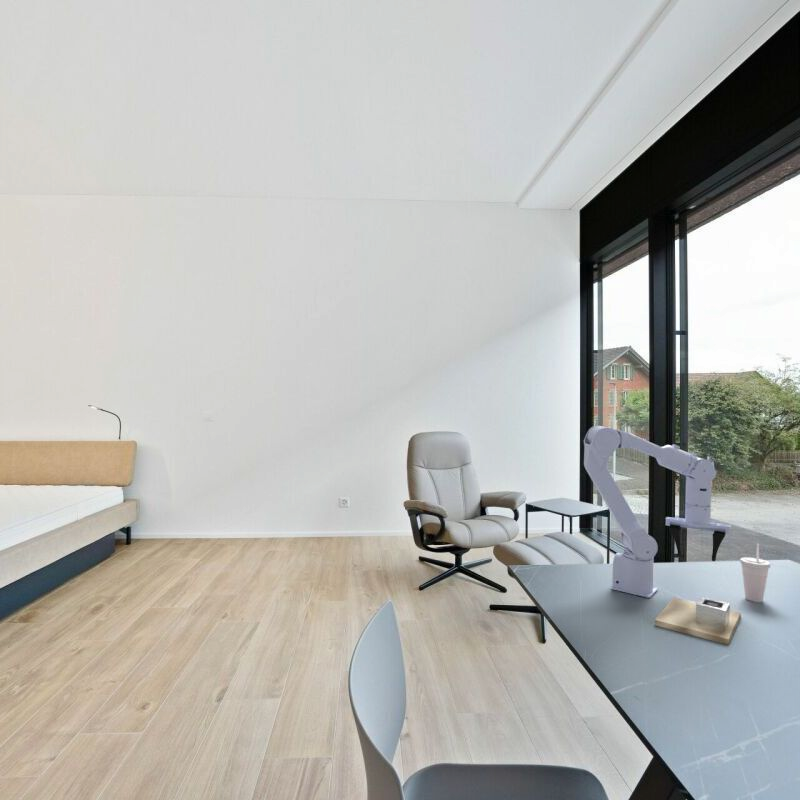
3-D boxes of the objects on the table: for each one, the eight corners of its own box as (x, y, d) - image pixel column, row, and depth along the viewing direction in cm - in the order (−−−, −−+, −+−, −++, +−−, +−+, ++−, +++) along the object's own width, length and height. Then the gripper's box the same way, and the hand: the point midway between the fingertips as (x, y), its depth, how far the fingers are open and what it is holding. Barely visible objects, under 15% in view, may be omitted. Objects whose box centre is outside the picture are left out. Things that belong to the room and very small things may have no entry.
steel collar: (695, 622, 117) (695, 603, 117) (700, 614, 121) (701, 596, 121) (725, 629, 114) (725, 610, 113) (729, 621, 118) (729, 603, 118)
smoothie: (774, 605, 131) (775, 548, 131) (745, 602, 132) (746, 546, 132) (762, 595, 137) (763, 541, 137) (734, 593, 139) (736, 539, 139)
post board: (654, 625, 118) (655, 601, 118) (673, 601, 132) (674, 580, 132) (728, 644, 109) (729, 619, 109) (740, 617, 123) (741, 595, 123)
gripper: (664, 503, 139) (662, 555, 139) (729, 511, 130) (728, 566, 130) (668, 499, 144) (667, 549, 144) (731, 506, 136) (730, 560, 136)
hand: (696, 557), depth 138 cm, fingers open, 7 cm apart
